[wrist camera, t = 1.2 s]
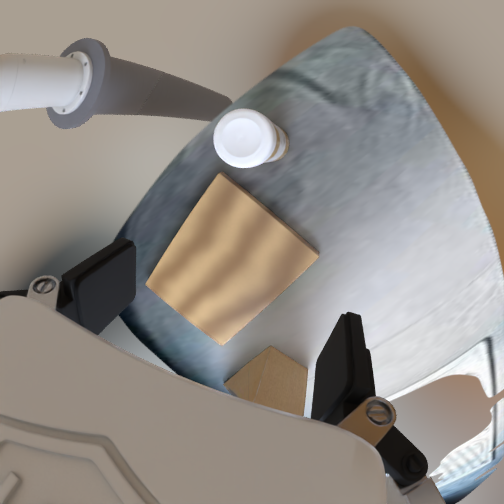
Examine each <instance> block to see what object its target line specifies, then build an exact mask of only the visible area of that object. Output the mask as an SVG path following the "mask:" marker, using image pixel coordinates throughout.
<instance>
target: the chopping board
mask: <svg viewBox="0 0 504 504" xmlns="http://www.w3.org/2000/svg"><path fill="white" fill-rule="evenodd" d="M318 258H319V252H318V251H317V250H316V249H314V248H313V247H312V246H311V245H310V244H309V243H308V242H306V241H305V240H304V239H303V238H302V237H301V236H300V235H298V234H297V233H296V232H295V231H294V230H293V229H291V228H290V227H289V226H288V225H287V224H286V223H284V222H283V221H282V220H281V219H280V218H279V217H277V216H276V215H275V214H274V213H273V212H271V211H270V210H269V209H268V208H267V207H265V206H264V205H263V204H262V203H261V202H259V201H258V200H257V199H256V198H255V197H253V196H252V195H251V194H250V193H249V192H247V191H246V190H245V189H244V188H242V187H241V186H240V185H239V184H237V183H236V182H235V181H234V180H232V179H231V178H230V177H229V176H227V175H226V174H225V173H224V172H220V173H218V175H217V176H216V177H215V179H214V180H213V182H212V183H211V184H210V186H209V187H208V189H207V190H206V191H205V193H204V194H203V196H202V197H201V199H200V200H199V201H198V203H197V204H196V206H195V207H194V209H193V210H192V212H191V213H190V215H189V216H188V218H187V219H186V221H185V222H184V224H183V225H182V227H181V228H180V230H179V231H178V233H177V234H176V236H175V237H174V239H173V240H172V242H171V243H170V245H169V247H168V248H167V250H166V251H165V253H164V254H163V256H162V258H161V259H160V261H159V262H158V264H157V266H156V267H155V269H154V271H153V272H152V274H151V276H150V277H149V279H148V281H147V282H146V284H145V285H147V286H148V287H149V288H150V289H151V290H152V291H153V292H155V293H156V294H157V295H158V296H159V297H160V298H162V299H163V300H164V301H165V302H166V303H168V304H169V305H170V306H171V307H172V308H174V309H175V310H176V311H177V312H178V313H180V314H181V315H182V316H183V317H185V318H186V319H187V320H188V321H190V322H191V323H192V324H194V325H195V326H196V327H197V328H199V329H200V330H201V331H203V332H204V333H205V334H206V335H208V336H209V337H210V338H212V339H213V340H214V341H216V342H217V343H218V344H220V345H221V346H223V345H224V344H225V343H227V342H228V341H229V340H230V339H231V338H232V337H233V336H235V335H236V334H237V333H238V332H239V331H240V330H241V329H243V328H244V327H245V326H246V325H247V324H248V323H249V322H250V321H252V320H253V319H254V318H255V317H256V316H257V315H258V314H259V313H260V312H262V311H263V310H264V309H265V308H266V307H267V306H268V305H269V304H270V303H271V302H273V301H274V300H275V299H276V298H277V297H278V296H279V295H280V294H281V293H282V292H283V291H284V290H286V289H287V288H288V287H289V286H290V285H291V284H292V283H293V282H294V281H295V280H296V279H297V278H298V277H299V276H300V275H301V274H302V273H303V272H305V271H306V270H307V269H308V268H309V267H310V266H311V265H312V264H313V263H314V262H315V261H316V260H317V259H318Z"/></svg>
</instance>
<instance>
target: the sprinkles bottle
mask: <svg viewBox="0 0 504 504" xmlns="http://www.w3.org/2000/svg"><path fill="white" fill-rule="evenodd" d="M213 139H214V140H213V141H214V146H215V149H216V152H217V153H218V155H219V156H220V158H221V159H222V160H223V161H225V162H226V163H228V164H229V165H231V166H234V167H239V168H249V167H254V166H257V165H260V164H262V163H265V162H273V161H277V160H280V159H281V158H283V157H284V156H285V154H286V153H287V151H288V148H289V139H288V136H287V134H286V133H285V132H284V130H283V129H281V128H279V127H278V126H277V125H275V124H274V123H272V122H271V121H270V120H269V119H268V118H267V117H266V116H264V115H263V114H261V113H259V112H257V111H255V110H252V109H237V110H233V111H231V112H229V113H227V114H226V115H225V116H223V117H222V118H221V120H220V121H219V122H218V124H217V126H216V128H215V131H214V137H213Z"/></svg>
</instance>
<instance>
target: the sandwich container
mask: <svg viewBox="0 0 504 504" xmlns="http://www.w3.org/2000/svg"><path fill="white" fill-rule="evenodd" d="M307 376H308V369H307V368H305V367H304V366H302V365H300V364H299V363H297V362H296V361H294V360H293V359H291V358H290V357H288V356H286V355H285V354H283V353H282V352H280V351H279V350H277V349H276V348H274V347H273V346H269V347H268V348H267V349H265V350H264V351H263V352H261V353H260V354H259V355H258V356H256V357H255V358H254V359H252V360H251V361H250V362H248V363H247V364H246V365H245V366H244V367H243V368H242V369H241V370H239V371H238V372H237V373H236V374H235V375H234V376H232V377H231V378H230V379H229V380H228V381H227V382H225V383H224V384H223V385H224V386H225V387H226V389H227V390H228V391H229V392H230V393H231V395H232V396H235V397H238V398H241V399H244V400H247V401H250V402H253V403H257V404H260V405H263V406H267V407H270V408H273V409H277V410H280V411H284V412H288V413H291V414H295V415H299V416H304V407H305V398H306V388H307Z"/></svg>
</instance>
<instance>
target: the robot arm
mask: <svg viewBox="0 0 504 504" xmlns="http://www.w3.org/2000/svg"><path fill="white" fill-rule="evenodd" d="M92 75H93V65H92V61H91V58H90V57H89V55H88V54H86V53H84V52H80V51H76V52H73V53H70V54H69V55H67V56H66V57H58V56H49V55H36V54H18V53H17V54H16V53H6V54H2V55H0V112H3V111H10V110H18V109H29V108H42V107H52V108H53V109H54V111H55V112H57V113H58V114H69V113H71V112H73V111H75V110H76V109H77V108H78V107H79V106H80V105H81V103H82V102H83V100H84V99H85V97H86V95H87V93H88V91H89V88H90V85H91V81H92ZM135 295H136V246H135V245H134V243H133V241H131V240H128V239H125V238H120V239H118V240H116V241H115V242H113V243H111V244H110V245H108V246H107V247H105V248H103V249H102V250H100V251H99V252H97V253H95V254H94V255H92V256H91V257H89V258H87V259H86V260H84V261H83V262H81V263H80V264H78V265H77V266H75V267H74V268H72V269H71V270H69V271H67V272H66V273H65V274H63V275H62V281H61V282H60V283H59V281H58V279H57V278H55V277H53V276H41V277H38V278H36V279H35V280H34V281H33V282H32V283H31V284H30V287H29V290H17V291H2V292H0V504H446V503H445V501H444V499H443V498H442V496H441V494H440V492H439V490H438V489H437V487H436V485H435V483H434V482H433V480H432V478H431V477H430V478H427V477H426V473H427V469H428V463H427V460H426V457H425V456H424V455H423V453H421V452H420V451H419V450H418V449H417V448H416V447H415V446H414V445H413V444H412V443H411V442H410V441H409V440H408V439H407V438H406V437H405V436H404V435H403V434H402V433H401V432H400V431H399V430H398V429H397V428H396V427H395V426H394V423H395V421H396V411H395V409H394V407H393V405H392V404H391V403H390V402H389V401H387V400H386V399H384V398H381V397H377V396H376V393H375V384H374V376H373V368H372V361H371V354H370V351H369V349H366V345H365V338H364V332H363V326H362V320H361V316H360V315H358V314H354V313H351V312H347V313H346V314H342V315H341V316H340V318H339V320H338V322H337V324H336V326H335V328H334V329H333V331H332V333H331V335H330V337H329V339H328V341H327V343H326V344H325V346H324V348H323V350H322V352H321V353H320V355H319V357H318V359H317V362H316V369H315V381H314V392H313V402H312V412H311V419H310V418H307V417H303V416H299V415H295V414H291V413H288V412H284V411H280V410H277V409H273V408H270V407H267V406H263V405H260V404H257V403H253V402H250V401H247V400H244V399H241V398H238V397H235V396H232V395H229V394H226V393H223V392H220V391H217V390H215V389H212V388H209V387H207V386H204V385H201V384H199V383H196V382H194V381H191V380H189V379H186V378H184V377H181V376H179V375H177V374H174V373H172V372H170V371H167V370H165V369H163V368H161V367H158V366H156V365H154V364H152V363H150V362H148V361H145V360H144V359H141V358H139V357H137V356H135V355H133V354H131V353H129V352H127V351H125V350H124V349H122V348H120V347H118V346H116V345H114V344H112V343H110V342H108V341H107V340H105V339H103V338H101V337H99V336H98V335H99V333H100V332H102V331H103V329H105V327H106V326H107V325H108V324H110V322H112V321H113V320H114V319H115V317H117V316H118V315H119V314H120V313H121V312H122V311H123V310H124V309H125V308H126V307H127V306H128V305H129V304H130V303H131V302H132V301H133V300H134V298H135Z"/></svg>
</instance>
